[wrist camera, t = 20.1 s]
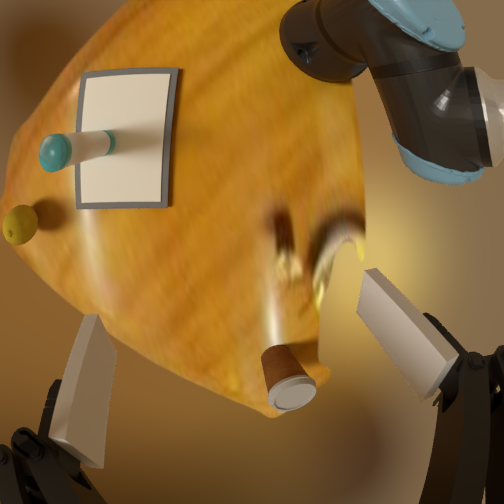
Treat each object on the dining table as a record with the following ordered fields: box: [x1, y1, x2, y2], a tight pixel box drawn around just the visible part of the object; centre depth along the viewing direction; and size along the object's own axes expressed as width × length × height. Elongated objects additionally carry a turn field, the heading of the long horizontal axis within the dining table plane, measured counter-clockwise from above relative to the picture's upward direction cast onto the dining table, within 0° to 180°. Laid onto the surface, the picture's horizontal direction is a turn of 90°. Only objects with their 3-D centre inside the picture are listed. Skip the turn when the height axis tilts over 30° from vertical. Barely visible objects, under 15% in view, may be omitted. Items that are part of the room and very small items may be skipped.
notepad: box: [75, 68, 179, 209], centre depth 32 cm, size 14×20×1 cm
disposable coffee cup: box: [261, 345, 316, 411], centre depth 51 cm, size 10×10×12 cm
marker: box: [39, 130, 115, 172], centre depth 26 cm, size 4×4×12 cm
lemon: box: [3, 205, 38, 245], centre depth 29 cm, size 6×6×8 cm
